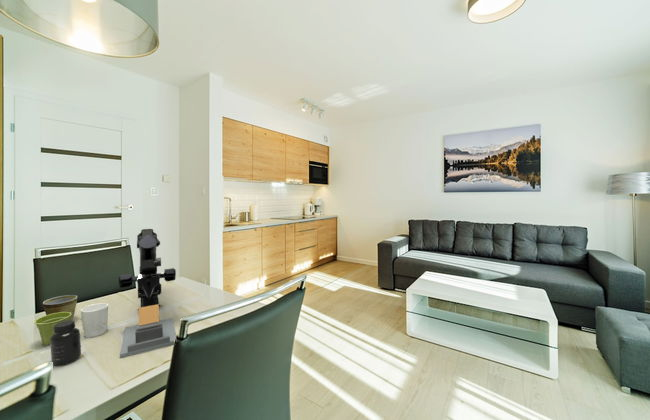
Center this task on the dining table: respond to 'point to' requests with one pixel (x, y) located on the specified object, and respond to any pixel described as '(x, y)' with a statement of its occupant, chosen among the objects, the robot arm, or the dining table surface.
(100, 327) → the white cup
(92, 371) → the dining table surface
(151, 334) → the switch board
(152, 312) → the lever
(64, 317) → the plant pot
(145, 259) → the robot arm
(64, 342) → the supplement bottle
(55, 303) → the ceramic cup
